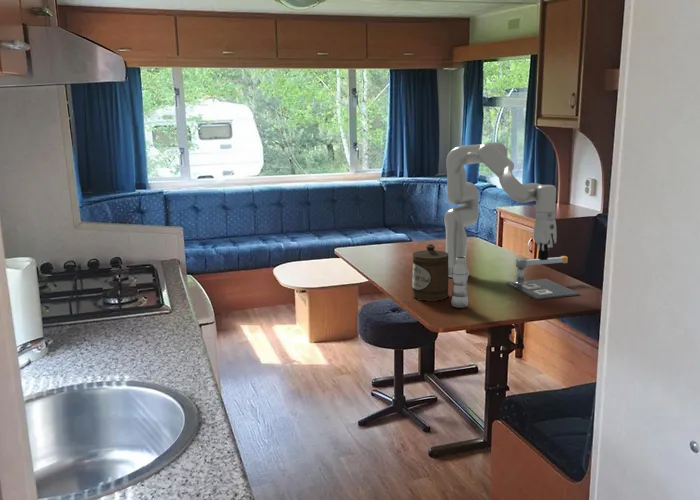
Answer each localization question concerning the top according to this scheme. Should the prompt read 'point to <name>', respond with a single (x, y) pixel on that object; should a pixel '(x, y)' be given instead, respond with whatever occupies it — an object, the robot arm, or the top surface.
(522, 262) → the bar
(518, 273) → the grey metal rounded piece
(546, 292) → the label plate
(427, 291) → the wooden container
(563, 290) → the board
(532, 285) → the label plate
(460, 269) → the plastic bottle
